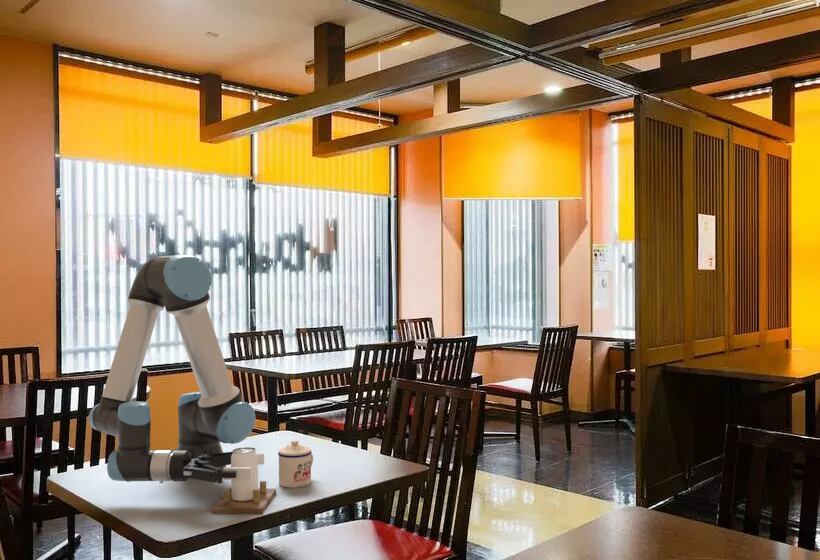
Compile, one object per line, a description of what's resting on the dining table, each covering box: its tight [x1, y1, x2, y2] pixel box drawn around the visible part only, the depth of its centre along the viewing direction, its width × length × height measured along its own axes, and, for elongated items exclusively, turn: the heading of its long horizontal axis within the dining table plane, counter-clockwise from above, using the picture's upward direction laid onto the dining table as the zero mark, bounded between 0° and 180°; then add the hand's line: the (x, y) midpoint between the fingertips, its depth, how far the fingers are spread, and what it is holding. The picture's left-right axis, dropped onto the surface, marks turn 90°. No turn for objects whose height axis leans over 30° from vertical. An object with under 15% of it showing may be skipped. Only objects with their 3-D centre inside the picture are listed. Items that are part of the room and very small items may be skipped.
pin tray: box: [211, 480, 277, 515], centre depth 174 cm, size 16×12×4 cm
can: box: [230, 446, 259, 502], centre depth 174 cm, size 6×6×12 cm
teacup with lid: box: [277, 439, 314, 489], centre depth 191 cm, size 12×9×12 cm
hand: (257, 465), depth 174 cm, fingers open, 13 cm apart
